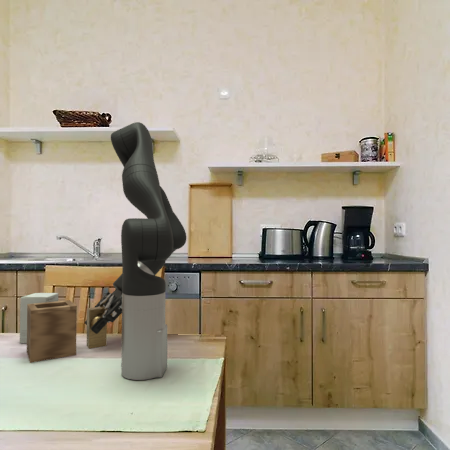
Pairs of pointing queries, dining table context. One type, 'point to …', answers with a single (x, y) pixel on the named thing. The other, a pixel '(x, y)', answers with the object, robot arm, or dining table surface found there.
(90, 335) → the gold rectangular block
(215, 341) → the dining table surface
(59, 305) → the brown wooden bin
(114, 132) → the robot arm
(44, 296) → the supplement box
